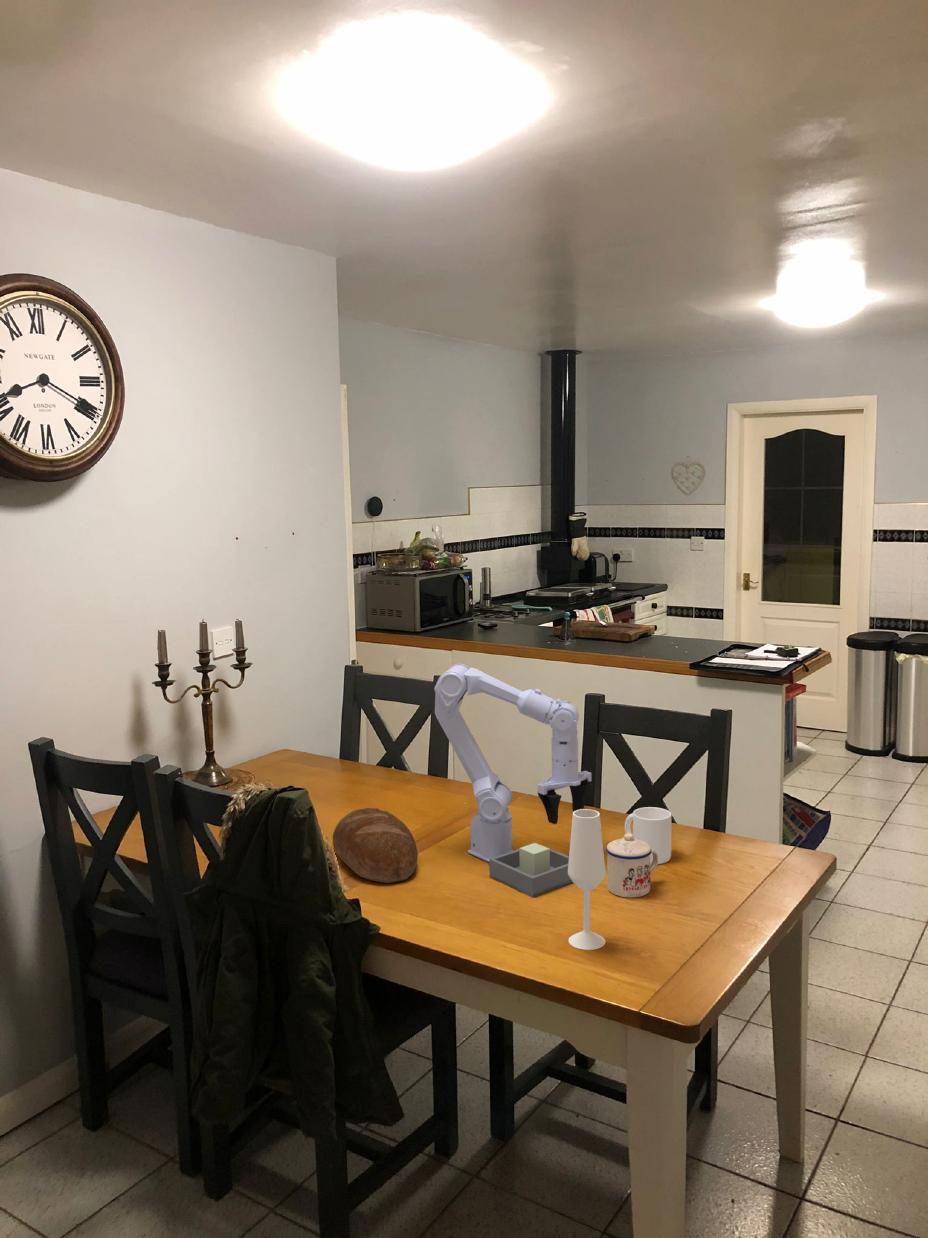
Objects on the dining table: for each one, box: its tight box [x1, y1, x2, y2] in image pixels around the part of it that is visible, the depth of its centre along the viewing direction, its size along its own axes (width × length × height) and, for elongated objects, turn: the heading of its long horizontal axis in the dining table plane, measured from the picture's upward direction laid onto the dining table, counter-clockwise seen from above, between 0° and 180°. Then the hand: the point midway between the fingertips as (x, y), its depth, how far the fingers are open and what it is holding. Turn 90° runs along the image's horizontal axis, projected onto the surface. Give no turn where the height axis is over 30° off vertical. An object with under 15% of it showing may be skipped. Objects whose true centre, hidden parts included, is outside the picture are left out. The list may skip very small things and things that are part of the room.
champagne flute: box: [568, 808, 606, 951], centre depth 171 cm, size 7×7×24 cm
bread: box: [332, 807, 419, 884], centre depth 212 cm, size 16×29×11 cm, turn 26°
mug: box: [624, 806, 672, 865], centre depth 211 cm, size 12×8×10 cm
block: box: [518, 842, 551, 876], centre depth 200 cm, size 4×4×6 cm
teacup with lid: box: [605, 833, 658, 899], centre depth 194 cm, size 12×9×12 cm
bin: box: [488, 848, 574, 898], centre depth 201 cm, size 14×14×4 cm
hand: (565, 818), depth 209 cm, fingers open, 7 cm apart
